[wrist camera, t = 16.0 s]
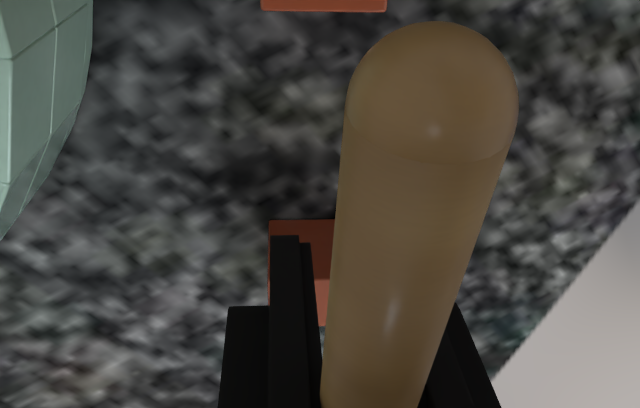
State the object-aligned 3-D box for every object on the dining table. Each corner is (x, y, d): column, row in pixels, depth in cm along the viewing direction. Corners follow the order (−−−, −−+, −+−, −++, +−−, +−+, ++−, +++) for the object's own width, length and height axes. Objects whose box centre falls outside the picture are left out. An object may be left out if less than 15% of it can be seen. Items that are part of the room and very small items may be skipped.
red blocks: (260, -95, 15) (257, -85, 12) (371, -92, 15) (395, -82, 12) (269, 263, 21) (268, 328, 18) (347, 261, 21) (359, 325, 18)
